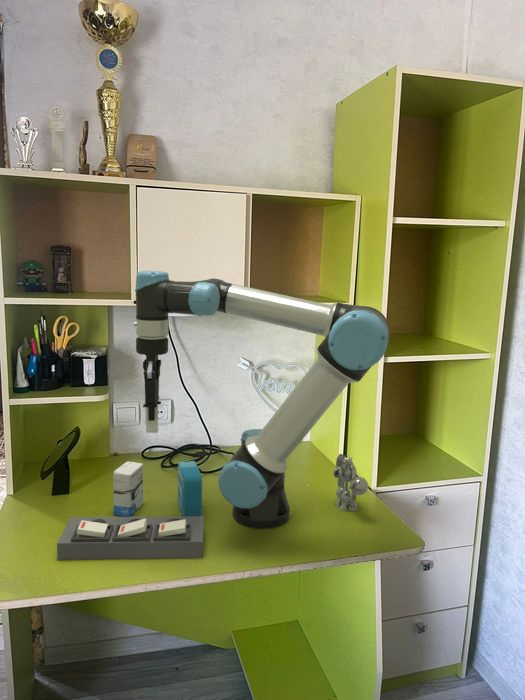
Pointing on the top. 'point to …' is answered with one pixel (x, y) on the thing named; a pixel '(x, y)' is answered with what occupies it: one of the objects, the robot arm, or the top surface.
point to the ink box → (128, 488)
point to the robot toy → (344, 476)
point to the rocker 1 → (92, 528)
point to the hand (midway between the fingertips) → (152, 431)
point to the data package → (189, 489)
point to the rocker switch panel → (132, 540)
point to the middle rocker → (133, 528)
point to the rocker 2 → (172, 528)
